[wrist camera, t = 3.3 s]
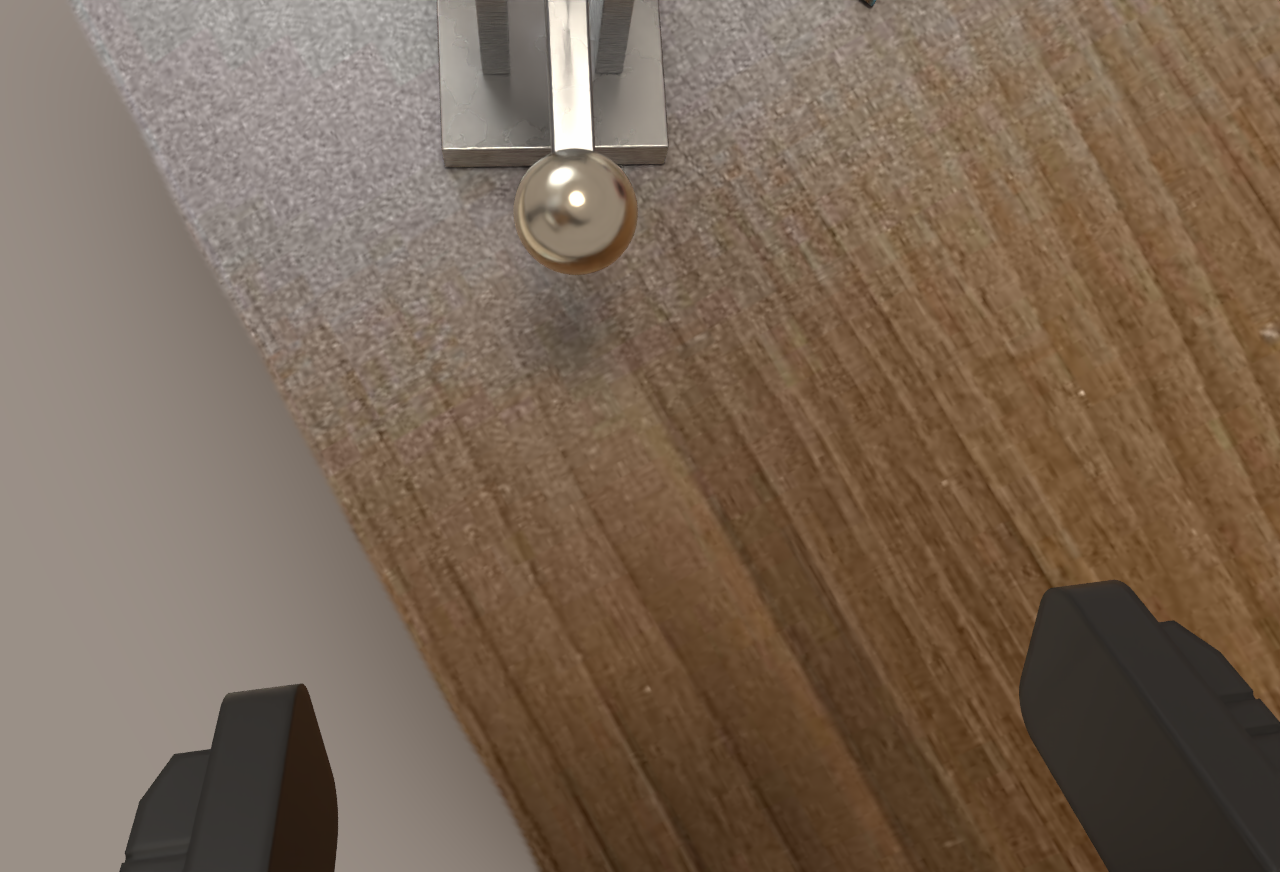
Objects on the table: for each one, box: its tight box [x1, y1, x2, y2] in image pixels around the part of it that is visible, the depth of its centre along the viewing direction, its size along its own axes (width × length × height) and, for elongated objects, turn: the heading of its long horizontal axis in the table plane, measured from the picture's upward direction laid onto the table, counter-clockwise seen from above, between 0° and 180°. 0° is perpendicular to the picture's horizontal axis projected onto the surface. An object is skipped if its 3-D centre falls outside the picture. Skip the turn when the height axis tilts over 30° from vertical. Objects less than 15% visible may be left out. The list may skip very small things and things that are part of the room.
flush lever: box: [513, 0, 638, 275], centre depth 27 cm, size 14×3×3 cm, turn 3°
